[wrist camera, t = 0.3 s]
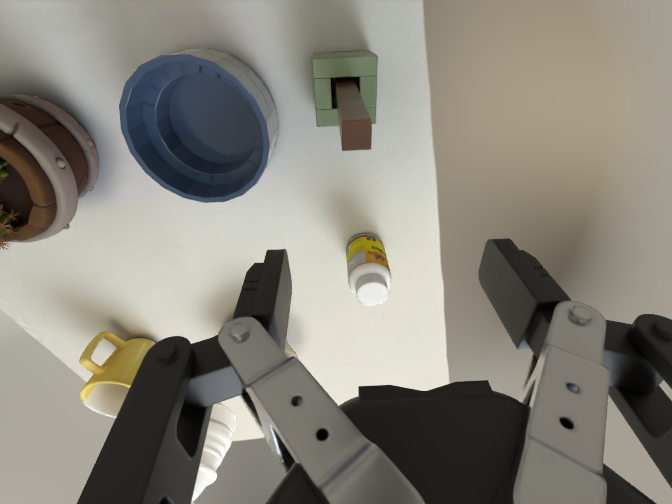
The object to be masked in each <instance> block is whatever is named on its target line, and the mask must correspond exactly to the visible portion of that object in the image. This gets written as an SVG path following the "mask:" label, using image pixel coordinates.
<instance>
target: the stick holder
mask: <svg viewBox="0 0 672 504" xmlns="http://www.w3.org/2000/svg"><path fill="white" fill-rule="evenodd" d="M312 67H313V78H314V79H313V81H314V95H315V108H316V122H317V127H320V126H339V120H338V112H337V103H336V97H331V78H335V77H355V84H356V86H357V88H358V91H359V93H360V95H361V97H362V99H363V102H364V104H365V106H366V108H367V111H368V113H369V115H370V117H371V119H372V124H375V123H376V97H377V55H376V54H374V53H373V52H371V51H370V50H366V51H347V52H328V53H314V55H313V58H312Z"/></svg>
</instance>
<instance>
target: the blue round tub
mask: <svg viewBox="0 0 672 504" xmlns="http://www.w3.org/2000/svg"><path fill="white" fill-rule="evenodd" d="M119 109H120V121H121V129H122V133H123V135H124V138H125V140H126V143H127V145H128V148H129V150H130V152H131V154H132V155H133V157H134V158H135V159H136V161H137V162H138V163H139V165H140V166H141V167H142V169H143V170H144V171H145V173H147V174H148V175H149V176H150V177H151V178H152V179H154V180H155V181H156V182H157V183H158V184H160V185H161V186H162V187H164V188H165V189H167V190H169V191H171V192H173V193H175V194H177V195H179V196H181V197H183V198H187V199H191V200H195V201H200V202H205V203H207V202H225V201H228V200H231V199H233V198H236V197H239V196H241V195H243V194H245V193H246V192H247V191H248V190H249V189H251V188H252V187H253V186H254V185H255V184H257V182H258V181H259V179H260V177H261V175H262V174H263V172H264V170H265V168H266V166H267V164H268V161H269V159H270V156H271V154H272V152H273V149H274V147H275V142H276V136H277V131H278V123H277V116H276V109H275V105H274V103H273V101H272V99H271V96H270V94H269V92H268V90H267V88H266V86H265V85H264V84H263V82H262V81H261V80H260V79H259V78H258V76H257V75H256V74H255V73H254V72H253V70H252V69H251V68H250V67H248V66H247V65H245V64H244V63H242V62H241V61H239V60H238V59H236V58H235V57H233V56H232V55H229V54H226V53H223V52H220V51H216V50H213V49H208V48H207V49H188V50H184V51H179V52H175V53H170V54H166V55H161V56H159V57H157V58H155V59H153V60H151V61H149V62H146V63H144V64H142V65H140V66H139V67H138V68H137V70H136V71H135V72H134V73H133V75H132V76H131V77H130V78H129V79H128V81H127V82H126V83H125V86H124V90H123V94H122V97H121V101H120V105H119Z"/></svg>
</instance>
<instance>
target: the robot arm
mask: <svg viewBox="0 0 672 504" xmlns="http://www.w3.org/2000/svg"><path fill="white" fill-rule="evenodd" d="M479 281H480V284H481V286H482V288H483V290H484V291H485V293H486V295H487V297H488V299H489V300H490V302H491V304H492V305H493V307H494V309H495V311H496V313H497V314H498V316H499V318H500V320H501V322H502V323H503V325H504V327H505V329H506V330H507V332H508V334H509V336H510V337H511V339H512V341H513V342H514V344H515V346H516V348H517V349H531V350H532V352H533V355H532V357H531V360H530V363H529V366H528V370H527V373H526V376H525V380H524V383H523V386H522V390H521V393H520V396H519V399H518V400H516V399H514V398H512V397H510V396H507V395H505V394H502V393H499V392H495V391H492V389H491V387H490V385H489V382H488V381H487V380H486V381H465V382H454V383H451V384H448V385H445V386H441V387H438V388H435V389H432V390H429V391H419V390H414V389H409V388H403V387H398V386H393V385H381V386H360V387H359V396H358V397H355V398H353V399H350V400H348V401H346V402H344V403H343V404H341V405H339V406H338V405H337V404H336V403H335V402H334V400H333V399H332V398H331V397H330V396H329V395H328V393H327V392H326V391H325V390H324V389H323V388H322V386H321V385H320V384H319V383H318V382H317V381H316V379H315V378H314V377H313V376H312V375H311V373H310V372H309V371H308V370H307V369H306V368H305V366H304V365H303V364H302V363H301V362H300V361H299V360H298V359H297V358H296V357H295V356H292V357H290V358H289V357H288V356H287V355H286V354H285V353H284V352H285V344H286V336H287V327H288V319H289V311H290V303H291V295H292V281H291V274H290V268H289V262H288V256H287V251H286V249H280V250H267V252H266V256H265V260H264V263H254V264H253V266H252V267H251V268H250V269H249V270H248V271H247V273H246V276H245V280H244V283H243V286H242V291H241V293H240V296H239V299H238V302H237V306H236V309H235V312H234V316H233V319H232V320H231V321H229V322H227V323H226V324H225V325H224V326H223V327H222V328H221V330H220V331H219V334H218V335H217V336H214V337H212V338H209V339H206V340H203V341H200V342H196V343H193V344H191V343H190V342H189V340H188V339H186V338H184V337H181V336H173V337H168V338H165V339H163V340H161V341H159V342H157V343H156V344H154V345H153V346H152V347H151V348H150V349H149V350H148V351H147V353H146V354H145V356H144V358H143V360H142V362H141V365H140V367H139V369H138V371H137V373H136V375H135V378H134V380H133V382H132V384H131V386H130V389H129V391H128V393H127V395H126V397H125V400H124V402H123V404H122V406H121V408H120V410H119V413H118V415H117V417H116V419H115V422H114V424H113V426H112V428H111V430H110V432H109V435H108V437H107V439H106V441H105V443H104V446H103V448H102V450H101V452H100V454H99V456H98V459H97V461H96V463H95V465H94V467H93V469H92V472H91V474H90V476H89V478H88V480H87V483H86V485H85V487H84V489H83V491H82V494H81V496H80V498H79V500H78V502H77V504H191V501H192V497H193V492H194V488H195V483H196V479H197V474H198V470H199V466H200V461H201V457H202V452H203V448H204V443H205V439H206V434H207V430H208V425H209V421H210V417H211V412H212V408H213V404H216V403H219V402H222V401H224V400H227V399H230V398H233V397H236V396H238V395H240V397H241V398H242V400H243V402H244V403H245V405H246V407H247V408H248V410H249V412H250V413H251V415H252V416H253V418H254V420H255V421H256V423H257V425H258V426H259V428H260V430H261V431H262V433H263V435H264V437H265V438H266V440H267V442H268V445H269V447H270V449H271V450H272V452H273V454H274V456H275V458H276V459H277V461H278V463H279V464H280V466H281V468H282V469H283V471H284V473H285V474H286V475H285V477H284V478H283V479H282V481H281V483H280V484H279V485H278V487H277V488H276V489H275V491H274V492H273V494H272V495H271V496H270V498H269V499H268V501H267V502H266V504H656V503H655V502H654V501H652V500H651V499H649V498H648V497H647V496H646V495H644V494H643V493H642V492H640V491H639V490H638V489H636V488H635V487H634V486H632V485H631V484H630V483H629V482H627V481H626V480H625V479H623V478H622V477H621V476H619V475H618V474H617V473H615V472H614V471H613V470H611V469H610V468H609V467H607V466H606V465H605V464H604V463H603V454H604V442H605V429H606V416H607V403H608V394H609V396H610V397H611V399H612V400H613V402H614V403H615V405H616V406H617V407H618V409H619V411H620V412H621V414H622V415H623V416H624V418H625V420H626V421H627V422H628V424H629V425H630V427H631V429H632V430H633V431H634V433H635V434H636V436H637V437H638V439H639V440H640V442H641V443H642V445H643V446H644V448H645V449H646V451H647V452H648V454H649V455H650V457H651V458H652V460H653V461H654V463H655V464H656V466H657V467H658V469H659V470H660V472H661V473H662V475H663V476H664V478H665V479H666V481H667V482H668V484H669V485H670V487H671V488H672V401H671V400H670V398H669V397H668V396H667V395H666V394H665V393H664V391H663V390H662V389H661V388H660V386H659V384H660V383H661V382H662V381H663V380H665V382H666V383H667V384H668V385H669V386H670V387H671V389H672V320H671V319H668V318H665V317H663V316H659V315H654V314H643V315H640V316H638V317H637V318H636V320H635V321H634V322H633V324H626V323H621V322H615V321H609V320H605V318H604V317H603V316H602V315H601V314H600V313H599V312H598V311H597V310H596V309H594V308H592V307H591V306H588V305H586V304H584V303H581V302H577V301H572V300H571V299H570V298H569V297H568V296H567V294H566V293H565V292H564V291H563V290H562V289H561V287H560V286H559V285H558V284H557V283H556V281H555V280H554V279H553V278H552V277H551V276H549V273H548V272H547V271H546V270H545V269H543V266H542V265H541V264H540V263H539V261H538V260H537V259H536V258H535V257H533V256H532V255H530V254H529V253H527V252H525V251H524V250H519V249H518V248H517V246H516V245H515V244H514V243H513V242H512V240H511V239H491V240H490V239H489V240H488V241H487V242H486V245H485V249H484V252H483V256H482V260H481V264H480V268H479Z"/></svg>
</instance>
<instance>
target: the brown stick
mask: <svg viewBox="0 0 672 504" xmlns="http://www.w3.org/2000/svg"><path fill="white" fill-rule="evenodd" d="M335 95H336V103H337V112H338V120H339V128H340V136H341V145H342V151H350V150H369V149H371V133H372V119H371V117H370V115H369V113H368V111H367V108H366V106H365V104H364V102H363V99H362V97H361V95H360V93H359V91H358V88H357V86H356V84H355V82H354V79H353V77H335Z"/></svg>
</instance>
